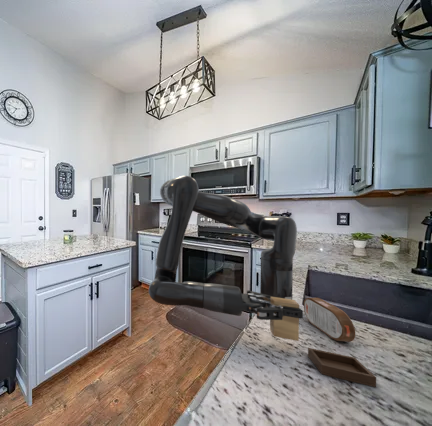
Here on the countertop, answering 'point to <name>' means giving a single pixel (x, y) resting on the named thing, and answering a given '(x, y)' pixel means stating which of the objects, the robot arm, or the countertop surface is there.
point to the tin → (329, 319)
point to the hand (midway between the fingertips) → (298, 310)
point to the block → (285, 321)
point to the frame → (341, 367)
